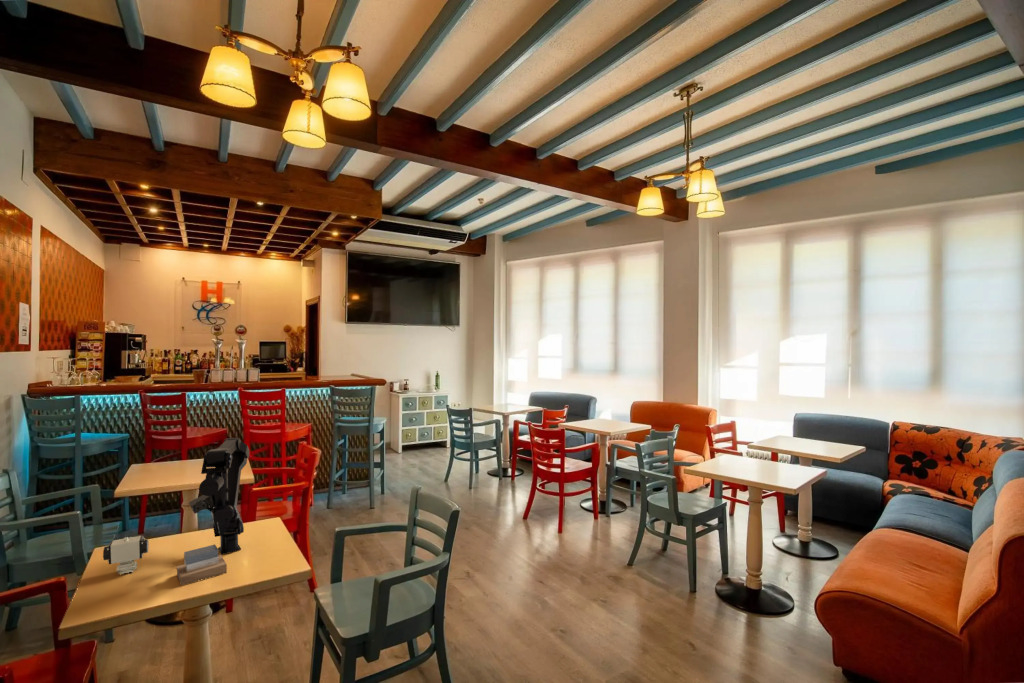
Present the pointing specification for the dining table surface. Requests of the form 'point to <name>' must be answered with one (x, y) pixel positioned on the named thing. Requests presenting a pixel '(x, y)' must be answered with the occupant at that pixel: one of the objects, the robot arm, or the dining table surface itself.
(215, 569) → the walnut stand
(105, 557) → the pneumatic valve
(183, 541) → the dining table surface
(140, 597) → the dining table surface
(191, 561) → the block
